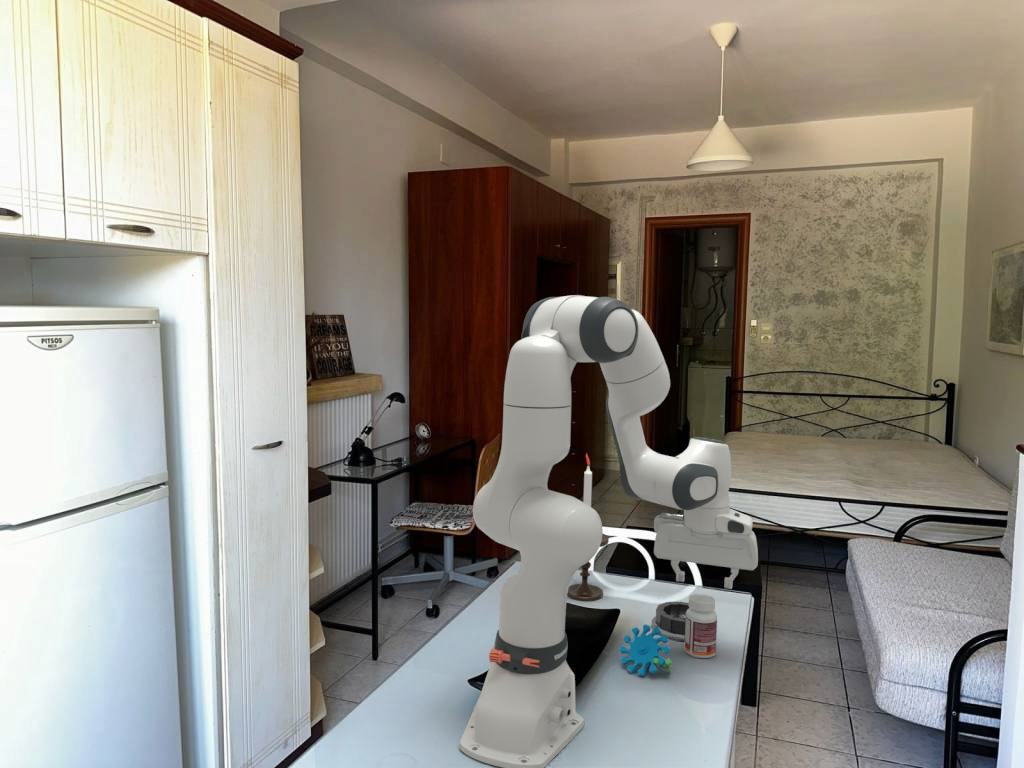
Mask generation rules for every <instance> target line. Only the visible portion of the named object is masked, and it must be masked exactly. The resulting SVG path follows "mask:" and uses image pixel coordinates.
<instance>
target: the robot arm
mask: <svg viewBox="0 0 1024 768" xmlns="http://www.w3.org/2000/svg"><path fill="white" fill-rule="evenodd" d="M520 336H521V337H520V338H521V339H519V340H517V341H516V342H515V343H514V344H513V345H512V347H511V349H510V352H509V355H508V356H509V357H508V360H507V366H506V371H505V379H504V387H503V390H504V391H503V405H502V406H503V408H502V409H503V412H502V414H503V416H502V418H503V419H502V437H501V438H502V439H501V449H500V454H499V458H498V461H497V465H496V468H495V470H494V472H493V474H492V477H491V479H490V480H489V481H488V482H487V483H485V484H484V485H483V486H482V487H481V488H480V489H479V491H478V492H477V494H476V495H475V498H474V499H473V500H474V501H473V505H472V516H473V517H472V518H473V520H474V521H473V522H474V523H475V525H476V527H477V528H478V530H480V531H481V532H482V533H484V534H485V535H486V536H488V537H489V538H490V539H491V540H493V541H494V542H496V543H498V544H501V545H503V546H506V547H509V548H510V549H514V550H516V551H519V553H520V564H519V568H518V571H517V573H515V574H514V575H512V576H510V577H509V578H508V579H506V581H505V582H503V584H502V586H501V587H500V589H499V590H500V591H499V605H498V606H499V607H498V608H499V609H498V613H499V614H498V629H497V631H496V636H495V640H494V643H493V644H494V645H493V648H491V649H490V651H489V655H488V656H489V657H488V660H489V662H490V665H489V668H488V671H487V674H486V677H485V679H484V682H483V686H482V688H481V692H480V696H479V697H478V699H477V701H476V703H475V706H474V708H473V710H472V713H471V715H470V717H469V719H468V722H467V725H466V727H465V728H464V730H463V733H462V737H461V738H460V741H459V747H458V748H459V750H460V751H461V752H462V753H464V754H465V755H466V756H468V757H470V758H472V759H474V760H476V761H479V762H481V763H485V764H488V765H492V766H496V767H500V768H546V766H548V765H549V763H551V762H552V760H553V759H554V758H555V757H556V756H557V755H558V754H559V753H560V752H561V751H562V750H563V749H564V748H565V747H567V745H568V744H569V743H570V742H571V741H572V740H573V738H574V737H575V736H577V734H578V733H580V732H581V730H582V729H583V728H584V727H585V721H584V719H585V718H583V716H581V715H580V714H579V713H577V711H576V680H575V679H576V677H575V676H576V675H575V674H574V672H573V671H572V669H571V667H570V666H569V664H568V662H567V660H566V659H567V657H568V649H569V648H568V647H569V646H568V635H567V633H566V631H565V630H566V612H567V611H566V610H567V599H568V596H567V593H568V588H569V586H571V582H572V579H573V577H574V575H575V574H576V572H577V571H578V570H579V569H580V568H581V566H582V565H584V564H586V563H587V562H590V561H591V560H592V559H593V558H594V557H595V555H596V554H597V552H598V551H599V549H600V548H601V547H600V544H601V540H602V533H603V532H604V531H603V524H602V519H601V517H600V515H599V513H598V512H597V511H596V509H594V508H593V507H592V506H591V507H590V506H588V505H587V504H585V503H583V501H582V500H580V499H578V498H577V497H575V496H572V495H569V494H565V493H561V492H557V491H554V490H551V489H549V488H548V481H549V477H550V473H551V471H552V469H553V466H554V465H556V464H558V463H559V462H561V461H562V460H564V459H565V457H567V456H568V454H569V452H570V449H571V448H570V447H571V431H572V430H571V427H572V426H571V425H572V424H571V423H572V382H571V381H572V380H571V377H572V374H573V371H574V368H575V366H576V364H577V363H598V364H599V366H600V368H601V372H602V375H603V377H604V379H605V383H606V386H607V390H608V394H607V396H606V398H605V399H606V401H605V407H606V408H605V409H606V416H607V419H608V423H609V427H610V431H611V436H612V439H613V442H614V445H615V450H616V453H617V458H618V463H619V478H620V479H619V480H620V484H621V486H622V489H623V491H624V492H625V494H626V495H627V496H629V497H630V498H632V499H635V500H640V501H645V502H650V503H654V504H659V505H660V506H664V507H669V508H673V509H676V510H681V511H683V514H678V513H668V512H662V513H661V514H658V515H656V516H655V517H654V519H653V529H654V532H655V533H656V535H655V538H654V539H655V540H654V545H653V546H654V547H653V554H654V556H655V557H656V558H657V559H663V560H669V561H670V565H671V567H672V569H673V571H674V573H675V580H676V582H678V583H684V582H685V575H686V573H685V571H683V570H681V569H680V566H679V563H680V562H684V563H692V564H700V565H708V566H715V567H724V568H730V573H731V574H730V576H729V577H726V576H725V577H724V582H723V583H724V585H723V586H724V589H728V590H729V589H730V590H732V589H733V583H734V582H733V581H734V580H735V578H736V577H737V576H738V574H739V571H740V570H745V571H746V570H747V571H755V569H756V568H757V567H758V562H759V555H758V554H759V551H758V550H759V549H758V541H757V536H756V534H755V532H754V531H753V530H752V529H753V525H754V524H753V523H754V522H753V519H752V517H751V516H749V515H747V514H744V513H742V512H739V511H737V510H734V509H733V508H731V501H730V497H729V492H730V487H731V485H732V457H731V451H730V448H729V445H728V444H727V443H725V441H723V440H719V439H713V438H707V437H700V436H695V437H694V436H693V437H691V438H690V439H689V442H688V446H687V448H686V449H685V450H683V452H681V453H679V454H678V455H676V456H669V455H667V454H666V455H665V454H661V453H659V452H656V451H654V450H653V449H651V448H650V446H648V445H647V443H646V438H645V435H644V430H643V426H642V421H641V417H642V416H644V415H646V414H648V413H650V412H652V411H653V410H656V408H657V407H659V406H660V405H661V404H662V402H664V400H665V399H666V397H667V396H668V394H669V391H670V388H671V379H670V372H669V368H668V365H667V363H666V360H665V358H664V355H663V352H662V350H661V348H660V345H659V343H658V341H657V339H656V337H655V334H654V332H652V329H651V328H650V325H649V324H648V322H647V321H646V320H645V318H644V316H643V315H642V314H641V313H640V312H639V311H638V310H635V309H632V308H631V307H630V306H629V305H628V304H626V303H625V302H624V301H621V300H619V299H617V298H614V297H609V296H600V297H596V296H588V295H587V296H585V295H583V294H582V295H581V294H575V295H571V294H570V295H566V296H565V295H564V296H549V297H546V298H543V299H540V300H539V301H536V302H535V303H534V304H532V305H531V306H530V308H529V309H528V311H527V313H526V315H525V318H524V320H523V323H522V332H521V335H520ZM603 534H604V533H603Z"/></svg>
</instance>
